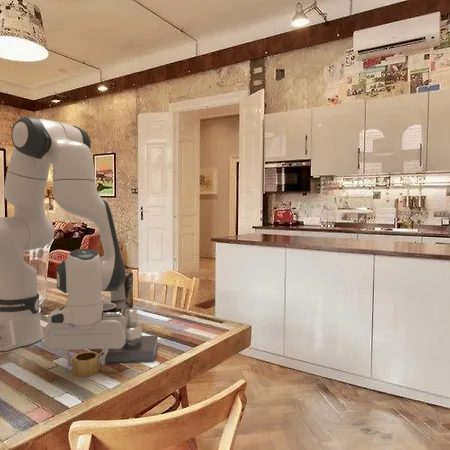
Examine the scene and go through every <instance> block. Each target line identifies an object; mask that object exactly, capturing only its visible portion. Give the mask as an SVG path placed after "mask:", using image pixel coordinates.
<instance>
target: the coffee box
mask: <svg viewBox="0 0 450 450" xmlns="http://www.w3.org/2000/svg"><path fill="white" fill-rule="evenodd" d="M110 303H113V304H115V305H116V312H120V314H123V315H124V316H125V310H126V309H128V308H134V272H127V271H126V280H125V282H124V283H123V284H122V286H121V287H120V288H118V289H117V290H116V291H110ZM120 316H122V315H120Z"/></svg>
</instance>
